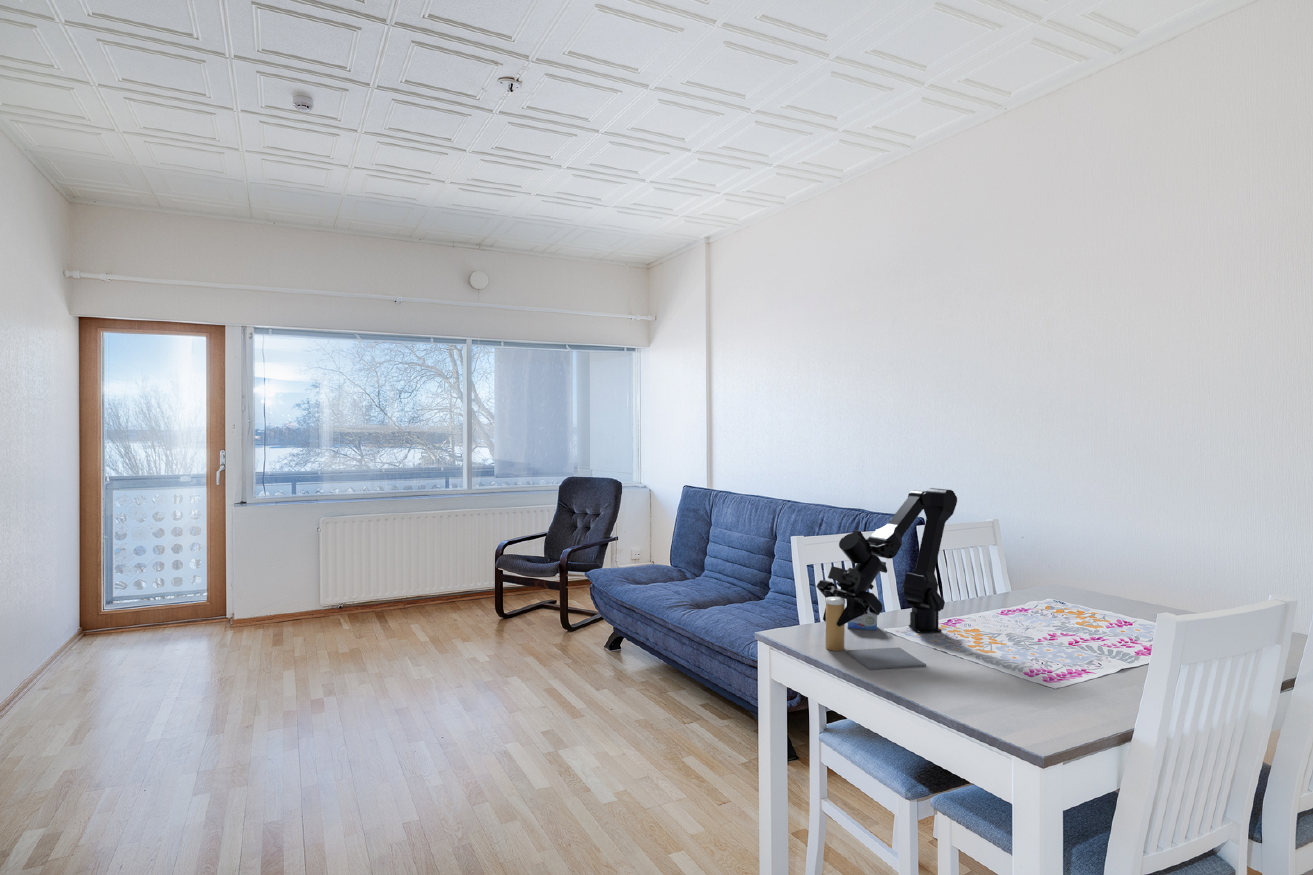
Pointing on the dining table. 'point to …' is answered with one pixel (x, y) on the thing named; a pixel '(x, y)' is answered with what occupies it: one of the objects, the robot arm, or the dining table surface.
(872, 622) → the medicine box
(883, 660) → the rubber mat
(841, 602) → the pill bottle
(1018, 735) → the dining table surface
